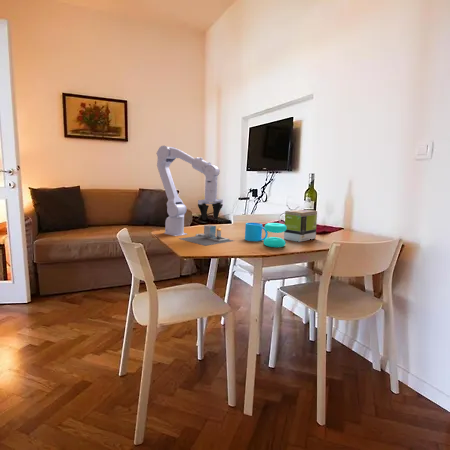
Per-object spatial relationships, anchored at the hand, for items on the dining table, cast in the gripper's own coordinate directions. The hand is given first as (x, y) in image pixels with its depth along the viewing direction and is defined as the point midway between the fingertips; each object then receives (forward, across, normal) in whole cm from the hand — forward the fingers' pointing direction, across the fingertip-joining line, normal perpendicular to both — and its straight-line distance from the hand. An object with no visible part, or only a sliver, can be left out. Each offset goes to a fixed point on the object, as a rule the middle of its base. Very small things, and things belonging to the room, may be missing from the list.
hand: (209, 218), depth 165 cm
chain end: (+9, 0, 0) cm, 9 cm away
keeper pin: (+9, 0, -6) cm, 11 cm away
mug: (+10, +15, -17) cm, 25 cm away
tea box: (+10, +38, -27) cm, 48 cm away
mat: (+10, -4, -3) cm, 11 cm away
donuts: (+10, +13, -29) cm, 34 cm away
